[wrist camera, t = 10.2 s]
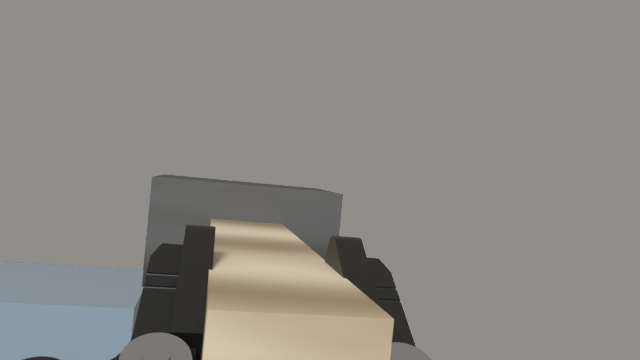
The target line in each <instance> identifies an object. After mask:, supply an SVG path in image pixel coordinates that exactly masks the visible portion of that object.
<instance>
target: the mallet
mask: <svg viewBox="0 0 640 360" xmlns="http://www.w3.org/2000/svg"><path fill="white" fill-rule="evenodd" d="M342 197H343V194H338V193H334V192H330V191H325V190H321V189H313V188H304V187H293V186H282V185H271V184H260V183H250V182H239V181H228V180H218V179H207V178H196V177H185V176H174V175H160V176H155V177H152V185H151V195H150V205H149V206H150V207H149V216H148V226H147V237H146V248H145V258H144V268H143V279H142V287H144V281H145V277H146V273H147V268H148V263H149V259H150V256H151V255H152V254H153V253H154V251H155V250H156V249H157V248H158V247H159V246H160V245H161V244H162V243H167V244H181V245H183V242H184V236H185V229H186V224H189V225H202V226H215V227H216V229H215V243H214V256H213V270H209V275H208V287H207V299H206V311H205V323H204V335H203V345H202V354H201V360H390V356H391V346H392V336H393V326H394V318H392V317H391V316H390V315H389V314H388V313H386V312H385V311H384V310H383V309H382V308H381V307H379V306H378V305H377V304H376V303H375V302H374V301H372V300H371V299H370V298H369V297H368V296H366V295H365V294H364V293H363V292H362V291H361V290H359V289H358V288H357V287H356V286H355V285H353V284H352V283H351V282H350V281H349V280H348V279H346V278H343V277H342V276H341V275H340V274H338V273H337V272H336V271H335V270H334V269H333V268H331V267H330V266H329V265H328V264H327V263H326V262H325V257H326V253H327V249H328V244H329V241H330V238H331V237H332V236H339V228H340V218H341V208H342Z"/></svg>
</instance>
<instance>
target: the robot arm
mask: <svg viewBox="0 0 640 360" xmlns="http://www.w3.org/2000/svg"><path fill="white" fill-rule="evenodd" d="M215 229H216V227H215V226H202V225H189V224H186V229H185V236H184V242H183V245H181V244H167V243H162V244H161V245H160V246H159V247H158V248H157V249H156V250H155V251H154V253H153V254H152V255H151V256H150V259H149V263H148V268H147V273H146V277H145V281H144V287H143V290H142V294H141V299H140V303H139V308H138V312H137V317H136V321H135V326H134V330H133V335H132V338H131V340H130V342H129V343H128V344H127V345H126V346H125V347H124V349H123V350H122V352H121V353H120V354H118V355H117V356H116V357H114V358H112V359H111V360H201V354H202V345H203V335H204V323H205V311H206V299H207V287H208V275H209V270H213V256H214V243H215ZM325 262H326V263H327V264H328V265H329V266H330V267H331V268H333V269H334V270H335V271H336V272H337V273H338V274H340V275H341V276H342V277H343V278H346V279H348V280H349V281H350V282H351V283H352V284H353V285H355V286H356V287H357V288H358V289H359V290H361V291H362V292H363V293H364V294H365V295H366V296H368V297H369V298H370V299H371V300H372V301H374V302H375V303H376V304H377V305H378V306H379V307H381V308H382V309H383V310H384V311H385V312H386V313H388V314H389V315H390V316H391V317H392V318H394V326H393V336H392V346H391V356H390V360H431V359H430V358H429V357H428V356H427V355H426V354H425V353H424V352H423V351H421V350H420V349H418V348H416V347H415V344H414V341H413V338H412V335H411V332H410V329H409V326H408V323H407V320H406V317H405V314H404V311H403V308H402V305H401V303H400V299H399V296H398V293H397V291H396V289H395V288H396V287H395V284H394V281H393V278H392V275H391V272H390V271H389V270H388V269H387V268H386V266H385V265H384V264H383V263H382V262H381V261H380V260H379V259H376V258H367V257H366V254H365V250H364V247H363V244H362V240H361V239H360V238H354V237H342V236H332V237H331V238H330V241H329V244H328V249H327V253H326V257H325ZM23 360H60V359H57V358H54V357H47V356H38V357H31V358H26V359H23Z"/></svg>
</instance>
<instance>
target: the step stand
mask: <svg viewBox="0 0 640 360" xmlns="http://www.w3.org/2000/svg"><path fill="white" fill-rule="evenodd" d="M142 279H143V270H140V269H123V268H105V267H89V266H72V265H56V264H55V265H54V264H38V263H22V262H4V263H2V264H0V360H23V359H26V358H31V357H38V356H47V357H54V358H57V359H60V360H111V359H112V358H114V357H116V356H117V355H118V354H120V353H121V352H122V350H123V349H124V347H125V346H126V345H127V344H128V343H129V342H130V340H131V338H132V335H133V330H134V326H135V321H136V317H137V312H138V308H139V303H140V299H141V294H142V290H143V287H142Z"/></svg>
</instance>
